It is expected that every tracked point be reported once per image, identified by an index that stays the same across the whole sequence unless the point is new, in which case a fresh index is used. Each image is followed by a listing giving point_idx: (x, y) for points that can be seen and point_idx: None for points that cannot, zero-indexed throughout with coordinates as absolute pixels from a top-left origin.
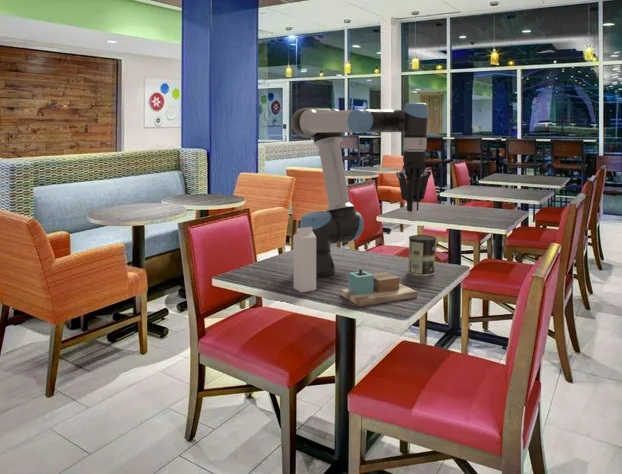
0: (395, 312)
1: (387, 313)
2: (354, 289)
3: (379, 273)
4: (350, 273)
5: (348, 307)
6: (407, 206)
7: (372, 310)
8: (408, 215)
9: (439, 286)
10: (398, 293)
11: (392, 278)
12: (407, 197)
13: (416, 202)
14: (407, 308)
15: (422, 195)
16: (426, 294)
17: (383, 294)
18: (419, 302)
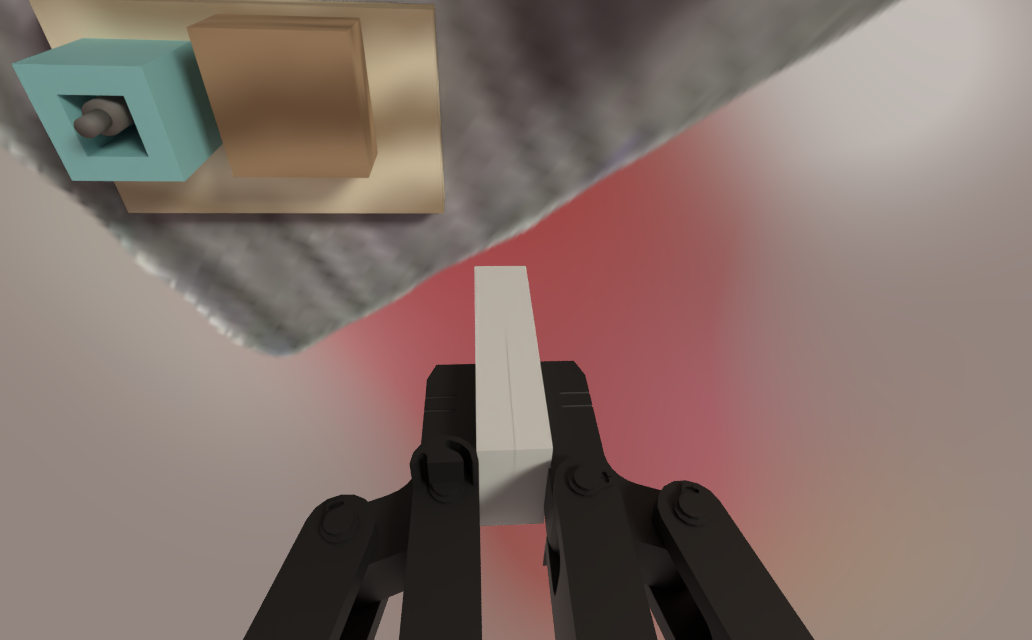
0: (272, 302)
1: (238, 300)
2: None
3: (285, 44)
4: (24, 82)
5: (81, 188)
6: (425, 423)
7: (187, 256)
8: (475, 305)
9: (649, 114)
10: (343, 203)
11: (322, 175)
12: (353, 612)
13: (532, 519)
14: (335, 287)
15: (670, 611)
16: (506, 187)
17: (267, 186)
18: (415, 255)
